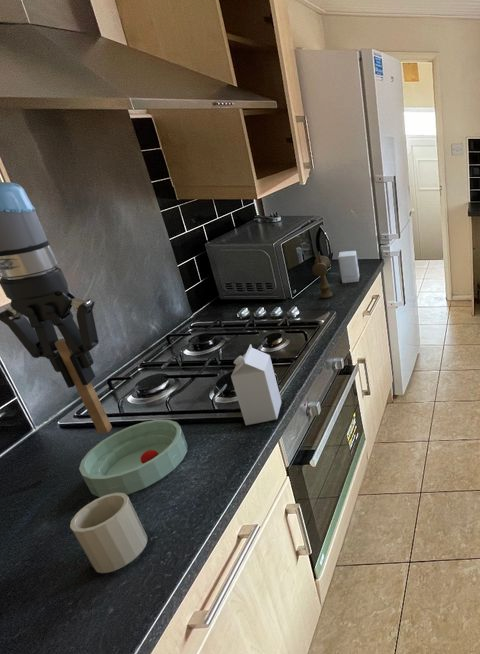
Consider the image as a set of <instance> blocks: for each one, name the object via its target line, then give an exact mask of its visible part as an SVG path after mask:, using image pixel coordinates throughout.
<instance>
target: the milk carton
mask: <svg viewBox="0 0 480 654" xmlns="http://www.w3.org/2000/svg"><path fill="white" fill-rule="evenodd" d="M233 364H234V365H235V367H234V369H233V371H232V373H231V375H230V378H231V383H232V385H233V388H234V392H235V395H236V399H237V401H238V404H239V408H240V412H241V415H242V419H243V421H244V424H245V426H250V425H255V424H260V423H266V422H270V421H275V420H278V417H279V413H280V409H281V407H282V403H283V401H282V397H281V393H280V390H279V385H278V382H277V379H276V373H275V371H274V366H273V363H272V359H271V355H270V354H268V353H266V352H263V351H261V350H259V349H256V348H254V347H253V346H252V344H251V343H250V344H249V346H248V348H247V350H246V352H245V353H244V354H243V355H238V356H237V357H236V359H234V360H233Z"/></svg>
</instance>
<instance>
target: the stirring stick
mask: <svg viewBox="0 0 480 654" xmlns="http://www.w3.org/2000/svg"><path fill="white" fill-rule="evenodd" d="M55 345H56V347H57V350H58V352H59V354H60V356H61V358H62V360H63V362H64V364H65V366H66V368H67V370H68V372H69V374H70V376H71V378H72V380H73V382H74V384H75V386H74V387H75V388H76V391H77V392H78V394H79V396H80V398H81V401H82V404H84V406H85V408H86V411H87V413H88V415H89V417H90V419H91V421H92V423H93V426H94V427H95V429H96V431H97V433H98V435H103V434H107V433H109V432H111V430H112V428H113V426H112V424H111V422H110V419H109V418H108V415H107V413H106V411H105V409H104V407H103V405H102V403H101V400H100V398H99V396H98V394H97V391H96V390H95V387H94V385H93V384H92V381H91V382H90V383H89V384H88V385H82V383H81V380H80V378H79V376H78V374H77V372H76V370H75V368H74V366H73V364H72V362H71V360H70V358H69V357H70V356H71V355H72V354H73V352H72V351H71V349H70V347H69V346H68V344H67V342H66V341H65V339H64V338H58V341H57V342H55Z"/></svg>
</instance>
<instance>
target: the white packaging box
mask: <svg viewBox="0 0 480 654" xmlns="http://www.w3.org/2000/svg"><path fill="white" fill-rule="evenodd" d="M337 260H338V265H339V272H340V278H341V284H348V283H349V284H350V283H359V282H360V269H359V262H358V255H357V250H348V251H347V250H345V251H340V252H339V253H338V257H337Z"/></svg>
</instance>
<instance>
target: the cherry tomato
mask: <svg viewBox="0 0 480 654" xmlns="http://www.w3.org/2000/svg"><path fill="white" fill-rule="evenodd" d="M157 455H158V452H157V451H155V450H149V451H146V452H145V453H143V455H142V456H141V462H142V463H143V464H144V463H146V462H148V461H150V460H152V459H153V458H154V457H156V456H157Z"/></svg>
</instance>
